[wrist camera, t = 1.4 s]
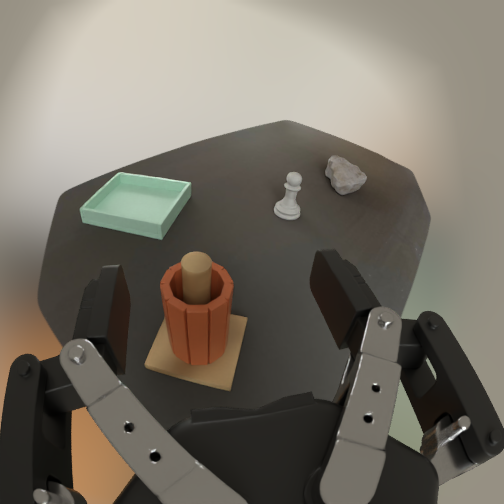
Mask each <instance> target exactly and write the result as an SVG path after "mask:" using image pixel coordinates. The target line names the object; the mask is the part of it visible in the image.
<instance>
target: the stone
mask: <svg viewBox="0 0 504 504" xmlns="http://www.w3.org/2000/svg"><path fill="white" fill-rule="evenodd" d="M325 173H326V174H325V175H326V176H327V177H329V178H330V179H331V185H332V187H333V188H335V190H336V191H337V192H338V193H339V194H341V195H345V194H347V193H352V192H354V191H356V190H358V189H360V187H361V186H362V185H363V184H364V183H365V181H366V179H367V176H365V174H364V173H363V172H361V171H360V170H359V168H358V166H355V165H352V164H351V163H349V162H348V161H347V160H346V159H344V158H343V157H339V156H337V155H334V156H332V157H331V158H330V159H329V160H328V166H327V168H326V171H325Z"/></svg>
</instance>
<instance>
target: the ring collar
mask: <svg viewBox="0 0 504 504" xmlns="http://www.w3.org/2000/svg"><path fill="white" fill-rule="evenodd" d="M169 269H170V270H168V269H167V271H166V273H165V275H164V276H163V278H162V280H161V282H160V289H161V296H162V302H163V308H164V315H165V320H166V326H167V332H168V337H169V342H170V345H171V348H172V351H173V353H174V354H175V356H176V357H178V358H179V359H181V360H182V361H184V362H186V363H187V364H190V362H191V365H208V362H209V363H210V364H211V363H213V362H214V361H215V360H217V359H218V358H220V357H221V356H223V353H224V352H225V348H226V345H227V341H228V332H229V323H230V314H231V305H232V296H233V287H234V285H233V281H232V279H231V277H230V276H229V274H228V272H227V270H226V269H224V267H222V266H220V265H218V264H216V263H214V262H212V273H211V302H209V303H208V304H206V305H188V304H186V303H184V299H183V285H182V268H181V262H180V263H178V264H176V265H174V266H172V267H170V268H169Z"/></svg>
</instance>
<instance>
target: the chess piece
mask: <svg viewBox="0 0 504 504" xmlns="http://www.w3.org/2000/svg"><path fill="white" fill-rule="evenodd" d="M301 181H302V177H301V175H300V174H299V173H296V172H291V173H289V174H288V175H287V183H285V184H284V186H285V188H286V194H285V197H284V198H283V200H281V201H278V202H277V203H276V206H275V207H274V212H275V214H276V215H277V216H278V217H280V218H282V219H285V220H295V219H297V218H298V217H299V216H300V207H299V206H298V205H297V203H296V199H295V198H296V194H297V191H299V190H300V189H301V187H300V186H299V185H300V183H301Z"/></svg>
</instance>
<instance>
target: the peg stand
mask: <svg viewBox="0 0 504 504" xmlns="http://www.w3.org/2000/svg"><path fill="white" fill-rule="evenodd" d="M181 268H182V285H183V299H184V303H186V304H188V305H206V304H208V303H209V302H211V273H212V260H211V258H210V257H209V256H208V255H207V254H205V253H202V252H191V253H188V254H186V255H185V256H184V257H183V258H182V261H181ZM246 324H247V318H246V317H242V316H237V315H233V314H230V323H229V332H228V341H227V345H226V348H225V352H224V353H223V356H221V357H220V358H218V359H217V360H215V361H214V362H213V363H211V364H210V363H209V362H208V365H191V362H190V364H187V363H186V362H184V361H182V360H181V359H179V358H178V357H176V356H175V354H174V353H173V351H172V348H171V345H170V342H169V337H168V332H167V326H166V320H165V318H164V320H163V323H162V325H161V327H160V329H159V332H158V334H157V336H156V338H155V341H154V343H153V345H152V348H151V350H150V352H149V355H148V357H147V359H146V362H145V366H146V368H147V369H150V370H153V371H157V372H160V373H163V374H166V375H170V376H173V377H176V378H180V379H183V380H187V381H191V382H194V383H198V384H202V385H206V386H210V387H214V388H218V389H222V390H227V391H230V390H231V386H232V382H233V378H234V374H235V370H236V365H237V361H238V357H239V353H240V349H241V345H242V340H243V336H244V332H245V328H246Z"/></svg>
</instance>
